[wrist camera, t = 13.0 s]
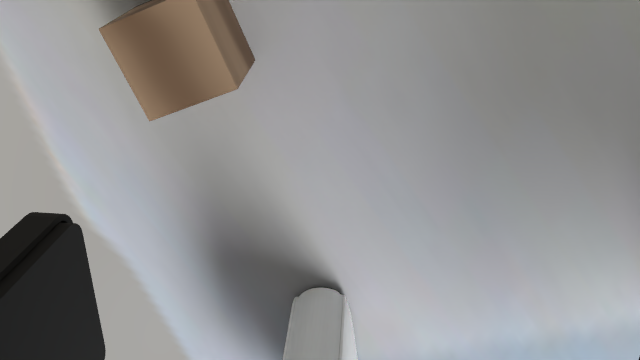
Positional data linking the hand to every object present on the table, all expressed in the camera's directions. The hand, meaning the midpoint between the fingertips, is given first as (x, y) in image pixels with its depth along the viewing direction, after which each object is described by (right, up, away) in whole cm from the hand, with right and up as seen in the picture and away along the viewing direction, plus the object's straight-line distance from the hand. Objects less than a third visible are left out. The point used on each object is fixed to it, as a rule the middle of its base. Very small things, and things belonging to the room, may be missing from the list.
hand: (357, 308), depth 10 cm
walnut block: (-7, +10, +24) cm, 27 cm away
